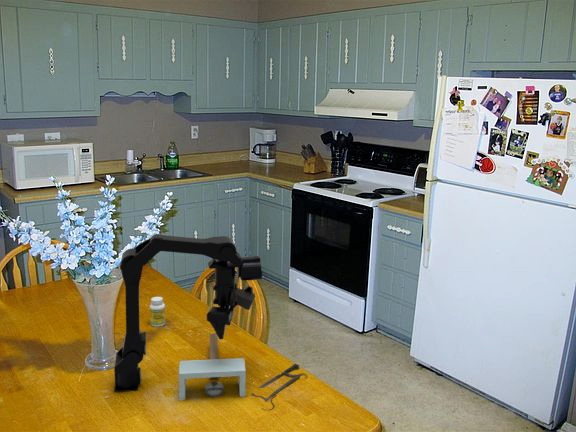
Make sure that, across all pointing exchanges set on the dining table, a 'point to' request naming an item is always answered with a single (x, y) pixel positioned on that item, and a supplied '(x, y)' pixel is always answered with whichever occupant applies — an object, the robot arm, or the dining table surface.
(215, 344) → the walnut batten
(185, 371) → the plinth bridge
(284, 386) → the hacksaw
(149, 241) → the robot arm
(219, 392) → the steel puck
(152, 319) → the supplement bottle
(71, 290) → the dining table surface
